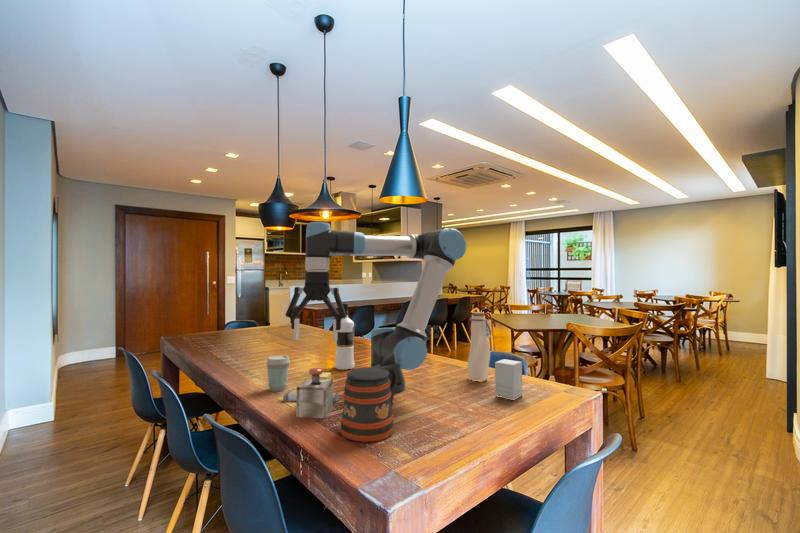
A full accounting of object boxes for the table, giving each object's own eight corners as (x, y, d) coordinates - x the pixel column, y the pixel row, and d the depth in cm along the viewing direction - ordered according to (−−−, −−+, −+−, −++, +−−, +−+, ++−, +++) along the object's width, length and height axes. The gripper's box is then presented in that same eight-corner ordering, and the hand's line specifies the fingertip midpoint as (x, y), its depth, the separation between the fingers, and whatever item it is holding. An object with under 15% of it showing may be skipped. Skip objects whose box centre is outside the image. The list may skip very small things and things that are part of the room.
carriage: (330, 397, 135) (331, 372, 135) (326, 402, 129) (327, 377, 129) (316, 396, 135) (317, 372, 135) (311, 402, 129) (312, 376, 129)
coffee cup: (282, 393, 139) (283, 360, 139) (261, 392, 141) (261, 359, 141) (293, 387, 147) (294, 355, 148) (273, 385, 149) (273, 354, 149)
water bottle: (495, 379, 162) (495, 312, 162) (487, 384, 154) (488, 314, 155) (472, 375, 167) (472, 311, 168) (464, 380, 159) (464, 312, 160)
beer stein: (374, 413, 120) (375, 349, 120) (413, 425, 111) (413, 355, 111) (329, 433, 104) (330, 359, 105) (369, 448, 96) (370, 367, 96)
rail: (338, 398, 134) (339, 392, 134) (335, 403, 129) (335, 397, 129) (288, 397, 135) (288, 391, 135) (283, 401, 130) (283, 395, 130)
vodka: (338, 365, 184) (339, 302, 185) (357, 366, 183) (357, 302, 183) (331, 369, 175) (332, 303, 176) (351, 370, 173) (351, 304, 174)
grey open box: (332, 407, 125) (333, 379, 125) (325, 418, 116) (326, 387, 116) (305, 407, 125) (305, 379, 125) (296, 417, 116) (296, 387, 116)
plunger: (323, 385, 122) (323, 368, 123) (320, 388, 118) (320, 371, 119) (311, 384, 123) (311, 367, 123) (307, 388, 119) (307, 371, 119)
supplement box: (523, 397, 138) (523, 361, 139) (513, 401, 133) (513, 364, 133) (504, 392, 143) (504, 358, 144) (494, 396, 138) (494, 361, 138)
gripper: (356, 272, 125) (355, 339, 124) (284, 270, 126) (282, 337, 126) (352, 271, 117) (351, 343, 117) (275, 270, 119) (273, 340, 118)
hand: (315, 340), depth 121 cm, fingers open, 12 cm apart
